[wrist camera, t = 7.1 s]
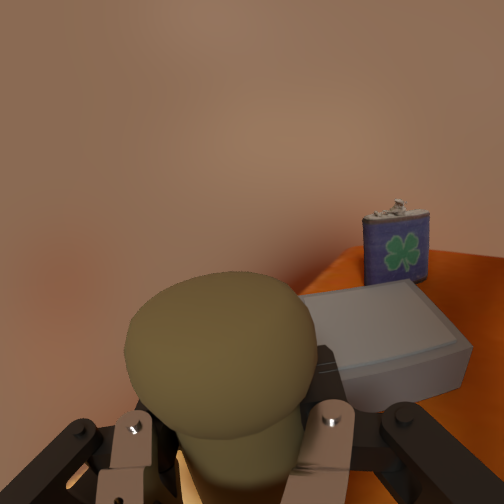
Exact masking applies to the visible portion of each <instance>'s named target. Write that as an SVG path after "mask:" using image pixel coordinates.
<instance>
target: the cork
mask: <svg viewBox="0 0 504 504" xmlns="http://www.w3.org/2000/svg"><path fill="white" fill-rule="evenodd" d="M124 356H125V362H126V368H127V371H128V374H129V378H130V381H131V383H132V386H133V388H134V390H135V392H136V394H137V395H138V397H139V399H140V401H141V402H142V403H143V404H144V405H145V406H146V407H147V408H148V409H149V410H150V411H151V412H152V413H153V414H154V415H155V416H156V417H157V418H158V419H160V420H161V421H162V422H163V423H164V424H165V425H166V426H168V427H169V428H170V429H172V430H174V431H175V433H176V436H177V439H178V442H179V444H180V447H181V450H182V453H183V456H184V458H185V461H186V464H187V466H188V469H189V472H190V474H191V477H192V479H193V482H194V484H195V487H196V489H197V491H198V494H199V496H200V499H201V501H202V503H203V504H280V503H281V500H282V497H283V494H284V491H285V487H286V484H287V481H288V477H289V474H290V472H291V469H292V468H293V467H295V466H296V464H297V460H298V457H299V453H300V449H301V445H302V441H303V437H304V433H305V432H304V429H303V426H302V423H301V414H300V405H299V403H300V402H301V401H302V400H303V399H304V398H305V396H306V394H307V391H308V389H309V386H310V384H311V381H312V378H313V375H314V372H315V368H316V365H317V361H318V353H317V339H316V332H315V325H314V322H313V320H312V317H311V314H310V312H309V309H308V307H307V306H306V305H305V304H304V303H303V301H302V300H301V299H300V298H299V297H298V296H297V295H296V293H295V292H294V291H293V290H292V289H291V288H290V287H289V286H288V284H286V283H284V282H282V281H280V280H278V279H276V278H273V277H270V276H267V275H263V274H257V273H252V272H222V273H213V274H208V275H204V276H199V277H195V278H192V279H189V280H186V281H183V282H180V283H177V284H175V285H173V286H171V287H169V288H167V289H165V290H163V291H161V292H160V293H158V294H157V295H155V296H154V297H153V298H151V299H150V300H149V301H147V302H146V303H145V304H144V305H143V306H142V307H141V308H140V309H139V311H138V312H137V313H136V314H135V316H134V317H133V318H132V319H131V322H130V325H129V329H128V332H127V337H126V342H125V347H124Z"/></svg>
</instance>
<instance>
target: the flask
mask: <svg viewBox="0 0 504 504" xmlns="http://www.w3.org/2000/svg"><path fill="white" fill-rule="evenodd" d="M395 202H396V203H395V205H394V206H393V207H392V208H391V209H390V211H387V210H383V212H381V213H378V212H377V211H374V214H371V215H367V216H365V217H364V218H363V220H362V222H363V239H364V284H365V286H369V285H375V284H381V283H387V282H393V281H399V280H404V279H410V280H411V281H412V282H413V283H414V284H418V283H421V282H423V281H424V280H426V279H427V276H428V253H429V219H430V216H429V215H430V213H429V211H427V210H422V209H415V210H411V211H405V210H406V208H405V207H404V201H402V199H395ZM405 203H407V202H405ZM384 212H387V213H385V214H382V213H384Z"/></svg>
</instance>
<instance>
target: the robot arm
mask: <svg viewBox="0 0 504 504" xmlns="http://www.w3.org/2000/svg"><path fill="white" fill-rule="evenodd" d="M317 353H318V361H317V365H316V368H315V372H314V375H313V378H312V381H311V384H310V386H309V389H308V391H307V394H306V396H305V398H304V399H303V400H302V401H301V402H300V403H299V405H300V414H301V423H302V426H303V429H304V432H305V433H304V437H303V441H302V445H301V449H300V453H299V457H298V460H297V464H296V466H295V467H293V468H292V469H291V472H290V474H289V477H288V481H287V484H286V487H285V491H284V494H283V497H282V500H281V503H280V504H344V503H345V498H346V491H347V485H348V478H349V470H354V471H373V472H374V474H375V475H376V476H377V477H378V479H379V480H380V481H381V483H382V484H383V485H384V486H385V488H386V489H387V490H388V491H389V493H390V494H391V495H392V496H393V498H394V499H395V500H396V501H397V503H398V504H504V482H503V481H502V480H501V479H500V478H498V477H497V476H496V475H495V474H494V473H493V472H492V471H491V470H490V469H489V468H487V467H486V466H485V465H484V464H483V463H482V462H481V461H480V460H479V459H478V458H477V457H475V456H474V455H473V454H472V453H471V452H470V451H469V450H468V449H467V448H466V447H465V446H463V445H462V444H461V443H460V442H459V441H458V440H457V439H456V438H455V437H454V436H453V435H451V434H450V433H449V432H448V431H447V430H446V429H445V428H444V427H443V426H442V425H441V424H439V423H438V422H437V421H436V420H435V419H434V418H433V417H432V416H431V415H430V414H428V413H427V412H426V411H425V410H424V409H423V408H422V407H421V406H419V405H418V404H416V403H413V402H406V401H404V402H398V403H394V404H392V405H391V406H389V407H388V408H387V409H386V410H385V411H384V413H369V412H363V411H360V410H357V409H355V408H354V407H352V406H351V405H350V404H349V402H348V400H347V398H346V394H345V391H344V387H343V384H342V380H341V377H340V374H339V371H338V367H337V363H336V360H335V357H334V353H333V351H332V350H331V349H329V348H328V347H327V346H326V345H318V346H317ZM178 450H181V447H180V444H179V442H178V439H177V436H176V433H175V431H174V430H172V429H170V428H169V427H168V426H166V425H165V424H164V423H163V422H162V421H161V420H160V419H158V418H157V417H156V416H155V415H154V414H153V413H152V412H151V411H150V410H149V409H148V408H147V407H146V406H145V405H144V404H143V403H142V402H141V401H140V399H139V401H138V403H137V406H136V408H135V410H134V411H130V412H127V413H125V414H124V415H122V416H121V417H120V418H119V419H118V420H117V422H116V425H114V426H108V427H102V428H97V427H96V425H95V424H94V423H93V422H92V421H91V420H89V419H84V418H83V419H78V420H75V421H73V422H72V423H70V424H69V425H68V426H67V427H66V428H65V429H64V430H63V431H62V432H61V433H60V434H59V435H58V436H57V437H56V438H55V439H54V440H53V441H52V442H51V443H50V444H49V445H48V446H47V447H46V448H45V449H44V450H43V451H42V452H41V453H40V454H39V455H38V456H37V457H36V458H34V459H33V461H31V462H30V463H29V464H28V465H27V466H26V467H25V468H24V469H23V470H22V471H21V472H20V473H19V474H18V475H17V476H16V477H15V478H14V479H13V480H12V481H11V482H10V483H9V484H8V485H7V486H6V487H5V488H4V489H3V490H2V491H1V492H0V504H183V500H182V492H181V483H180V473H179V463H178V460H177V458H176V454H177V451H178ZM84 463H85V464H86V465H87V466H88V467H89V469H88V470H87V471H86V472H85V473H84V474H83V475H82V476H81V477H80V479H79V480H78V481H77V482H76V483H75V484H74V485H73V486H72V487H71V488H70V489H66V483H67V481H68V480H69V479H70V478H71V477H72V476H73V475H74V474H75V472H76V471H77V470H78V469H79V468H80V467H81V466H82V465H83V464H84Z"/></svg>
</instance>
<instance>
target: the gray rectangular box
mask: <svg viewBox="0 0 504 504" xmlns="http://www.w3.org/2000/svg"><path fill="white" fill-rule="evenodd" d="M298 297H299V298H300V299H301V300H302V301H303V303H304V304H305V305H306V306H307V307H308V309H309V312H310V314H311V317H312V320H313V322H314V325H315V332H316V339H317V346H318V345H326V346H327V347H328V348H329V349H331V350H332V351H333V353H334V357H335V360H336V363H337V367H338V371H339V374H340V377H341V380H342V384H343V387H344V391H345V394H346V398H347V400H348V402H349V404H350V405H351V406H352V407H354V408H355V409H357V410H360V411H363V412H369V413H376V412H380V411H384V410H386V409H387V408H388V407H389V406H391V405H392V404H394V403H398V402H404V401H406V402H413V403H414V402H418V401H421V400H424V399H427V398H430V397H434V396H437V395H440V394H443V393H446V392H448V391H451V390H454V389H457V388H459V387H460V386H461V383H462V380H463V378H464V375H465V372H466V369H467V366H468V362H469V359H470V356H471V353H472V349H473V346H472V345H471V343H470V342H469V341H468V340H467V339H466V338H465V337H464V335H463V334H462V333H461V332H460V331H459V330H458V329H457V328H456V327H455V325H454V324H453V323H452V322H451V321H450V320H449V319H448V318H447V317H446V316H445V315H444V314H443V312H442V311H441V310H440V309H439V308H438V307H437V306H436V305H435V304H434V303H433V302H432V301H431V300H430V299H429V298H428V297H427V296H426V295H425V294H424V293H423V292H422V291H421V290H420V289H419V288H418V287H417V286H416V285H415V284H414V283H413V282H412V281H411V280H410V279H404V280H399V281H393V282H387V283H381V284H375V285H369V286H362V287H356V288H350V289H343V290H336V291H329V292H322V293H315V294H308V295H300V296H298Z"/></svg>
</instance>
